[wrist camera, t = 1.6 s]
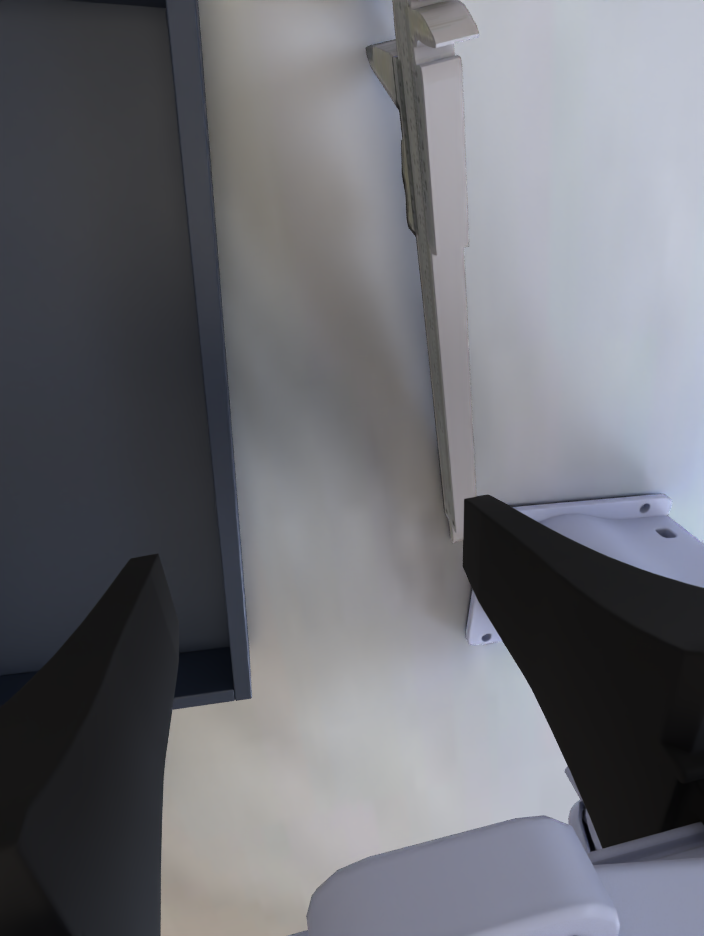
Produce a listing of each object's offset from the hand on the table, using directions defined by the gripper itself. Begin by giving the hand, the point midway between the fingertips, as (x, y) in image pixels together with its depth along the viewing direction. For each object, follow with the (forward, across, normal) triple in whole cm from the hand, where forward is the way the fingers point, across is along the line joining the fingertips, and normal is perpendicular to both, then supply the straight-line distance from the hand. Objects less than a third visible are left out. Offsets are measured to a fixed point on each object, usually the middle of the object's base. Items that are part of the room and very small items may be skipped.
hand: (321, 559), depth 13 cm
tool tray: (+10, +8, -1) cm, 12 cm away
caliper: (+10, -6, -3) cm, 12 cm away
